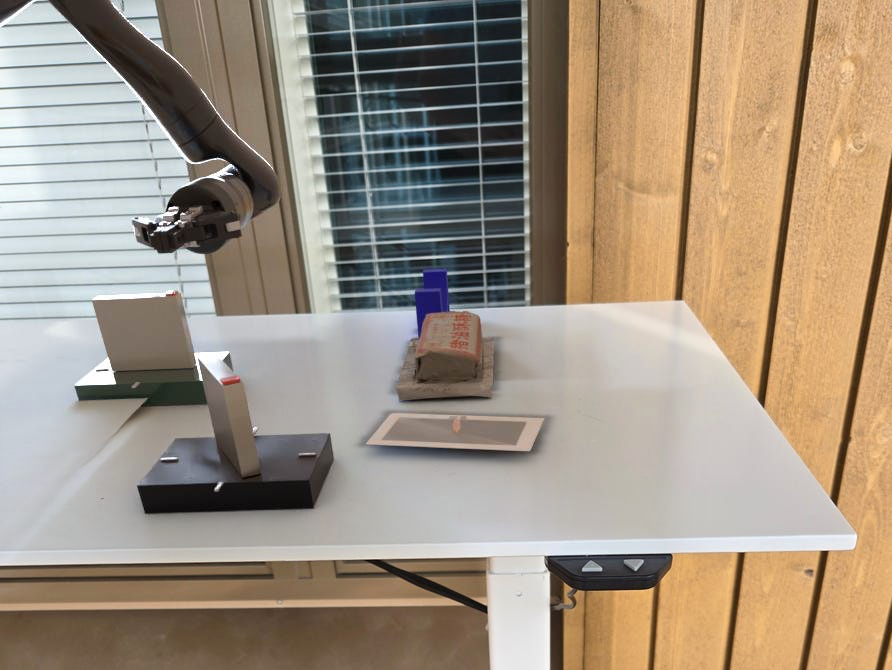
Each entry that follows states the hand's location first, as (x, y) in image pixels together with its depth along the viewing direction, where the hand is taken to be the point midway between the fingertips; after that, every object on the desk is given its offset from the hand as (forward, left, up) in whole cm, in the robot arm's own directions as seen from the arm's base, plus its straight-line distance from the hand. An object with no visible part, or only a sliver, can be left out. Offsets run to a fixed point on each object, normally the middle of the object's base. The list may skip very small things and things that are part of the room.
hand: (162, 243), depth 94 cm
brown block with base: (+30, -3, -14) cm, 33 cm away
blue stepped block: (+28, +15, -14) cm, 35 cm away
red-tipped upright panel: (+14, -31, -12) cm, 36 cm away
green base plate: (-2, -5, -14) cm, 15 cm away
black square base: (+14, -31, -14) cm, 37 cm away
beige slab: (-2, -5, -12) cm, 13 cm away
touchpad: (+32, -23, -14) cm, 42 cm away
